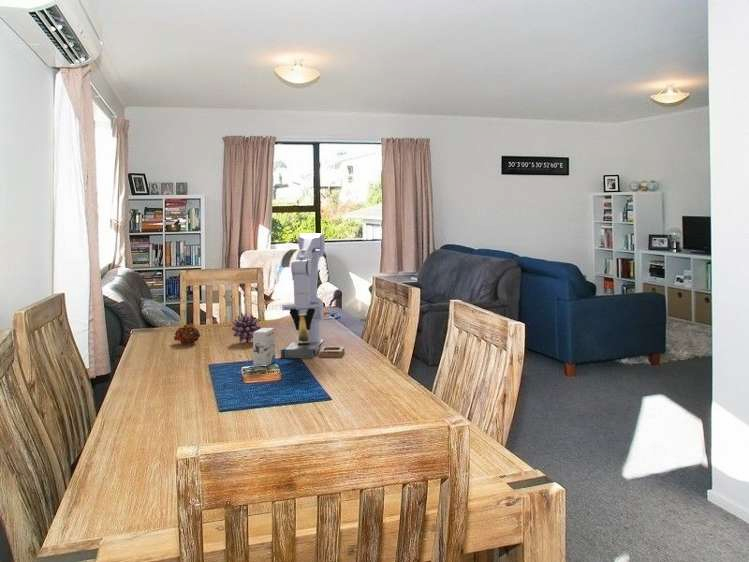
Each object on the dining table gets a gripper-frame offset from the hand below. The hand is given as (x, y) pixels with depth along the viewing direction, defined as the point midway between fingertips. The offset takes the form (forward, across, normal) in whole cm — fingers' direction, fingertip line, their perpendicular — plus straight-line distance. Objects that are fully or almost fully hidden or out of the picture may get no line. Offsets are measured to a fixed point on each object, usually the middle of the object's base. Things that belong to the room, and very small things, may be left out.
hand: (303, 329), depth 228 cm
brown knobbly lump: (+9, -51, +18) cm, 55 cm away
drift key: (+9, -2, -7) cm, 11 cm away
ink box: (+9, -10, -18) cm, 22 cm away
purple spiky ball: (+9, -27, +20) cm, 35 cm away
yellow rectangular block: (+4, 0, 0) cm, 4 cm away
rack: (+8, +11, -4) cm, 14 cm away
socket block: (+8, 0, -3) cm, 9 cm away
